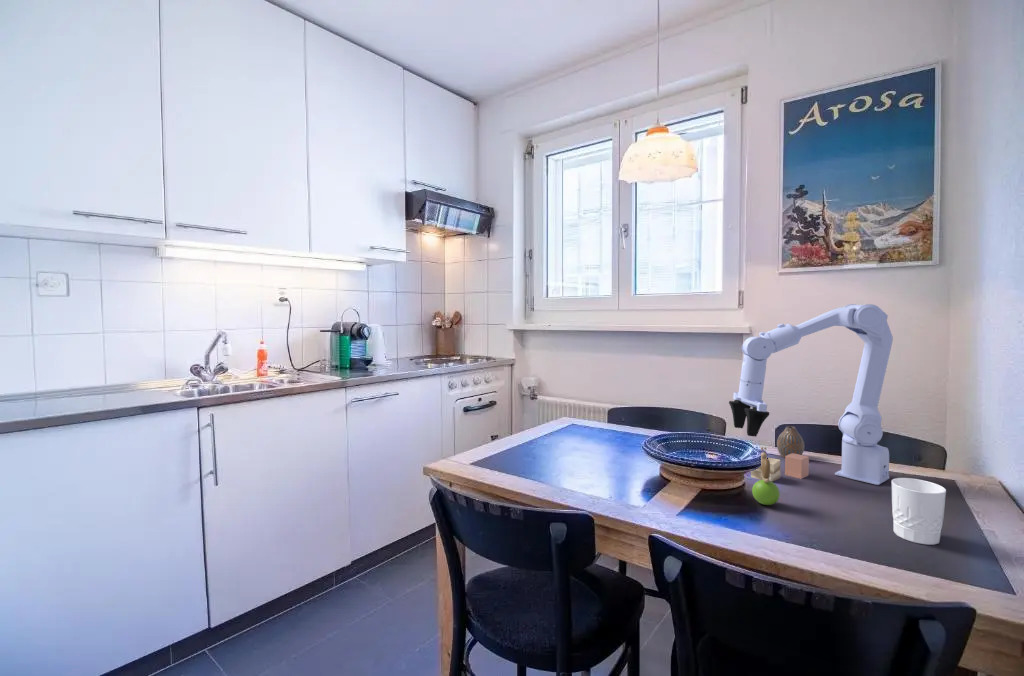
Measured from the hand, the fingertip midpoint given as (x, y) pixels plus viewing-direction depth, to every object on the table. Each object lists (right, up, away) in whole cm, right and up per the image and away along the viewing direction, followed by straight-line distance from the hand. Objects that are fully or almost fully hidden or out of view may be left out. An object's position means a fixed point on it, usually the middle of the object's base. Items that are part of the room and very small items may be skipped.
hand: (744, 431), depth 128 cm
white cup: (+15, -13, -37) cm, 42 cm away
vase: (+19, -10, +11) cm, 24 cm away
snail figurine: (-5, -12, -20) cm, 25 cm away
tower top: (+3, -9, -5) cm, 11 cm away
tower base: (+3, -11, -5) cm, 13 cm away
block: (+12, -11, -3) cm, 16 cm away
